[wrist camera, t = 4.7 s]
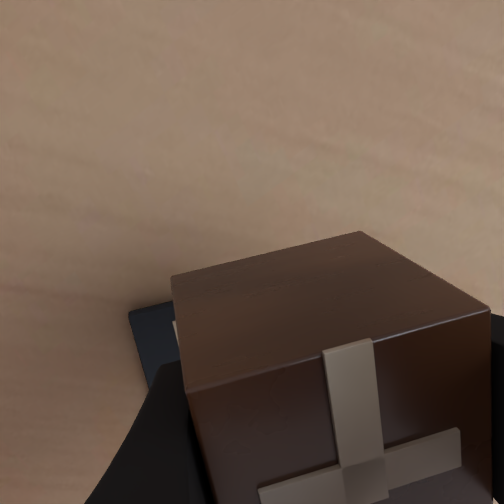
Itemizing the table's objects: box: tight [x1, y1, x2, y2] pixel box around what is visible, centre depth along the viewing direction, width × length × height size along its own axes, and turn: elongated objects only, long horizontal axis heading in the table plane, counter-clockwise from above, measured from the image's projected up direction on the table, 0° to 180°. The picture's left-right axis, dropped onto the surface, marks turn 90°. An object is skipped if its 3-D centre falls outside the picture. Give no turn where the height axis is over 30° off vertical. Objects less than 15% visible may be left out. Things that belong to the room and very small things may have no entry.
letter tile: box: [170, 231, 493, 504], centre depth 9 cm, size 4×5×5 cm
